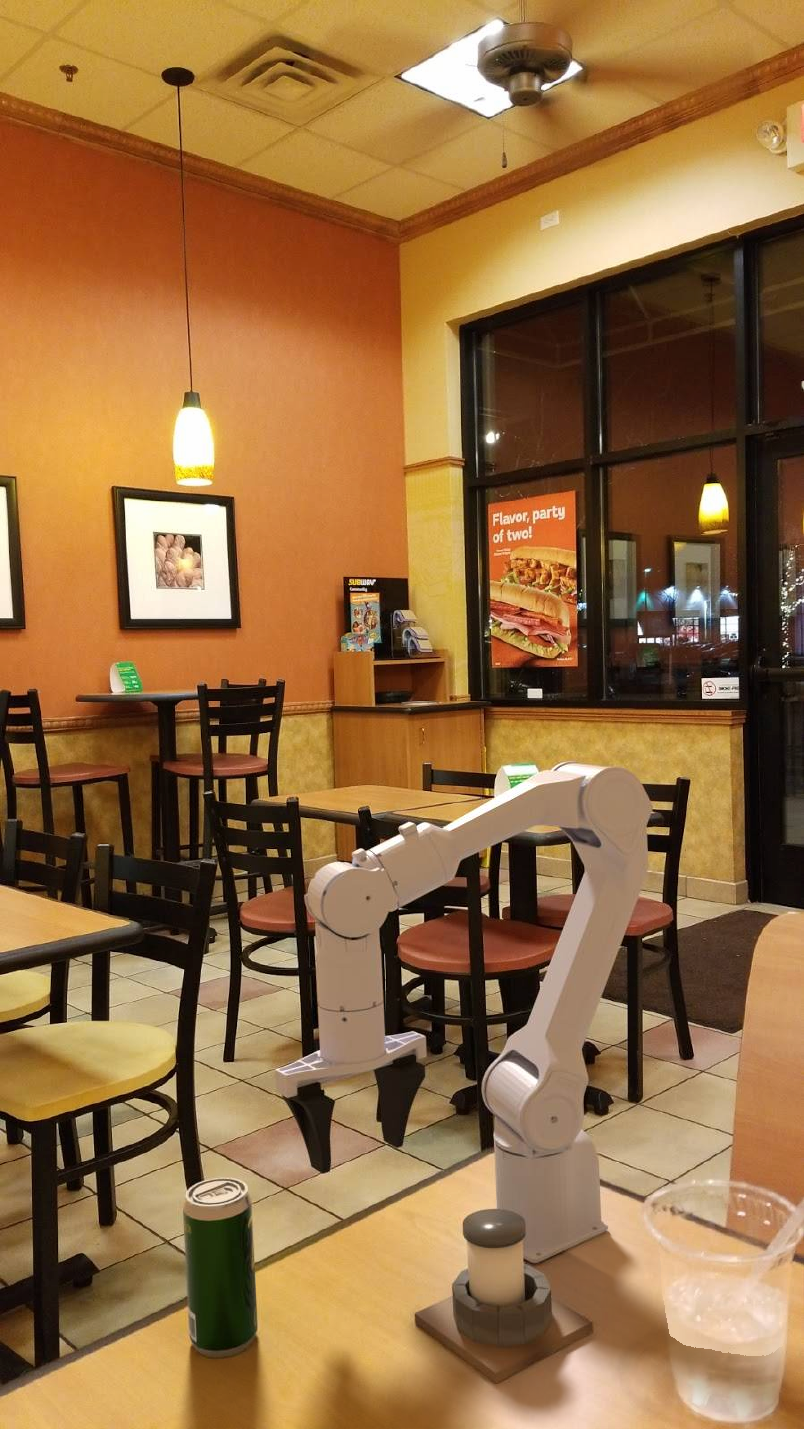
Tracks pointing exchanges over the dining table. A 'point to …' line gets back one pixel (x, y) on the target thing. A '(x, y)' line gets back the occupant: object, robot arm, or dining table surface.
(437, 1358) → the dining table surface
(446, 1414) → the dining table surface
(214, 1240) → the green guarana soda can
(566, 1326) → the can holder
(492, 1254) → the grey-capped cream cylinder
